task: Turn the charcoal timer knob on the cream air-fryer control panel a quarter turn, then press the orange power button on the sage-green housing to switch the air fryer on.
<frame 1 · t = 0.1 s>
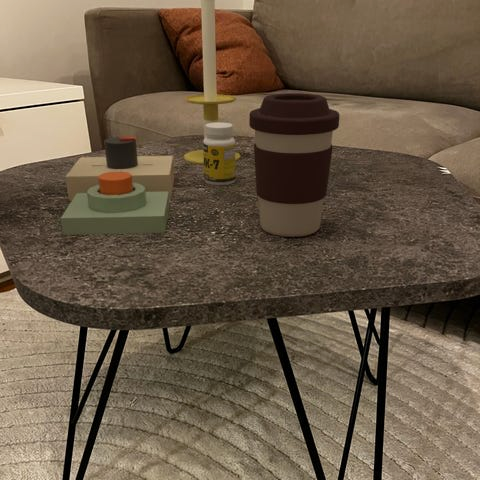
button housing: (119, 220, 74), on the table
candle: (212, 158, 104), on the table
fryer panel: (124, 189, 86), on the table
power button: (115, 183, 72), point 5 cm above the table, slide at 0.2 cm
supplement bottle: (220, 183, 90), on the table
timer knob: (121, 151, 84), point 5 cm above the table, hinge at 0.0°
coffee cup: (289, 229, 72), on the table
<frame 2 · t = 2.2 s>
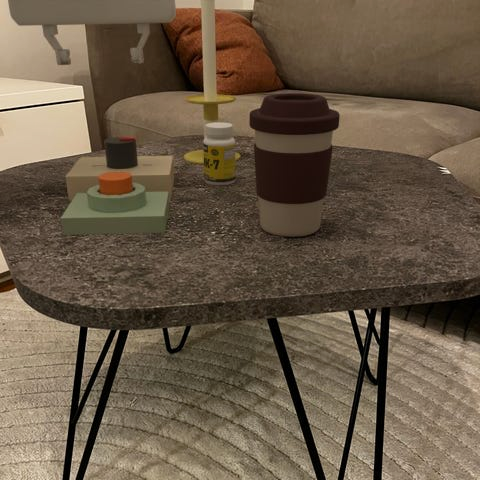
hand: (101, 64, 77), 17 cm above the table, tool pointing down, fingers open, 8 cm apart
nothing on the table moved.
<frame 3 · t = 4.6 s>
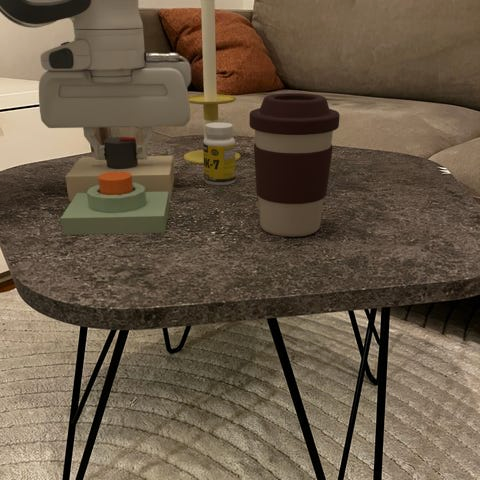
hand: (121, 159, 84), 4 cm above the table, tool pointing down, fingers closed on timer knob, 4 cm apart
timer knob: (121, 151, 84), point 5 cm above the table, hinge at 0.2°, touching gripper
everything else where it was.
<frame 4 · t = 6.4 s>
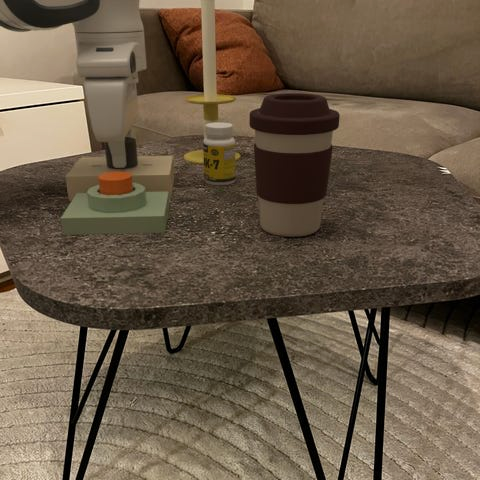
hand: (122, 161, 84), 4 cm above the table, tool pointing down, fingers closed on timer knob, 4 cm apart
timer knob: (121, 151, 84), point 5 cm above the table, hinge at 89.2°, touching gripper
everything else where it was.
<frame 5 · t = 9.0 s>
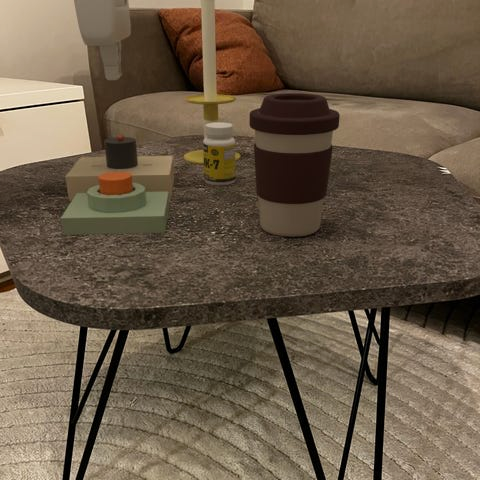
hand: (113, 79, 79), 15 cm above the table, tool pointing down, fingers closed
timer knob: (121, 151, 84), point 5 cm above the table, hinge at 89.5°
everything else where it was.
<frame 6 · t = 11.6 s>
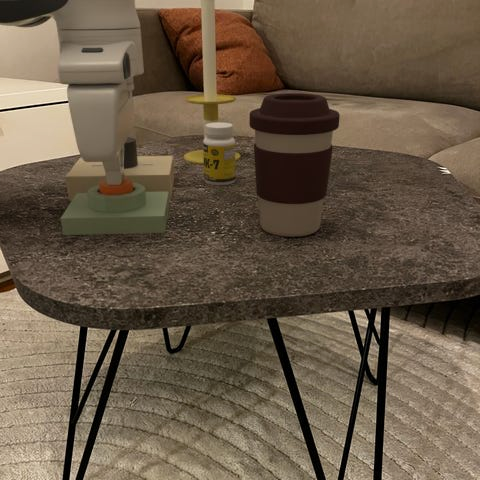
hand: (116, 182, 72), 5 cm above the table, tool pointing down, fingers closed, pressing on power button
power button: (116, 190, 72), point 4 cm above the table, slide at -0.6 cm, touching gripper
everything else where it was.
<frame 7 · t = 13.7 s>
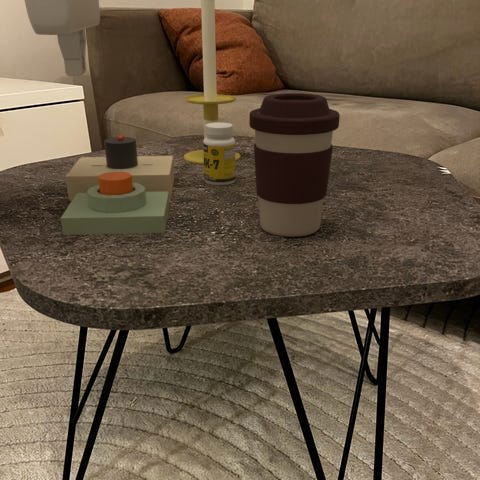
hand: (76, 75, 67), 17 cm above the table, tool pointing down, fingers closed
power button: (115, 184, 72), point 5 cm above the table, slide at 0.1 cm
everything else where it was.
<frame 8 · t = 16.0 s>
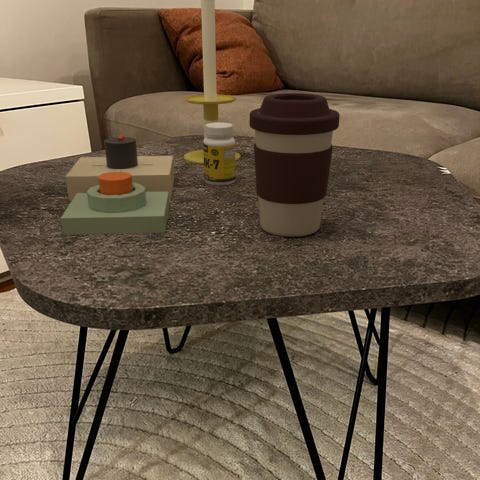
nothing on the table moved.
at the end: timer knob at +90° (first picture: +0°); power button pushed in 1.1 cm at the most during the clip, back to where it started at the end; power button slide at 0.1 cm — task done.
